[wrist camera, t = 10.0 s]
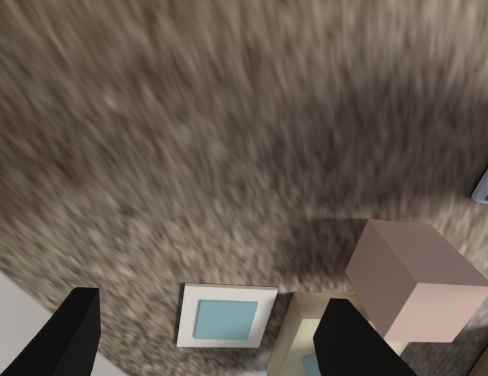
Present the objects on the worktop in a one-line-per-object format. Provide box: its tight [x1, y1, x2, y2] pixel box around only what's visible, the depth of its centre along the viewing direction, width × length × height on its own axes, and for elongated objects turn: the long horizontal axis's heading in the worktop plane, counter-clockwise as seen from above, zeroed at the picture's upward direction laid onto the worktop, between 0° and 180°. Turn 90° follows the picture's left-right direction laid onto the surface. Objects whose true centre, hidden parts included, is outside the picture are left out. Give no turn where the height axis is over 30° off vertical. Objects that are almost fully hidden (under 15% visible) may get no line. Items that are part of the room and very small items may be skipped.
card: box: [177, 283, 278, 348], centre depth 26 cm, size 7×7×1 cm
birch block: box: [266, 292, 409, 376], centre depth 28 cm, size 10×10×3 cm
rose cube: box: [345, 219, 488, 342], centre depth 22 cm, size 5×5×6 cm
